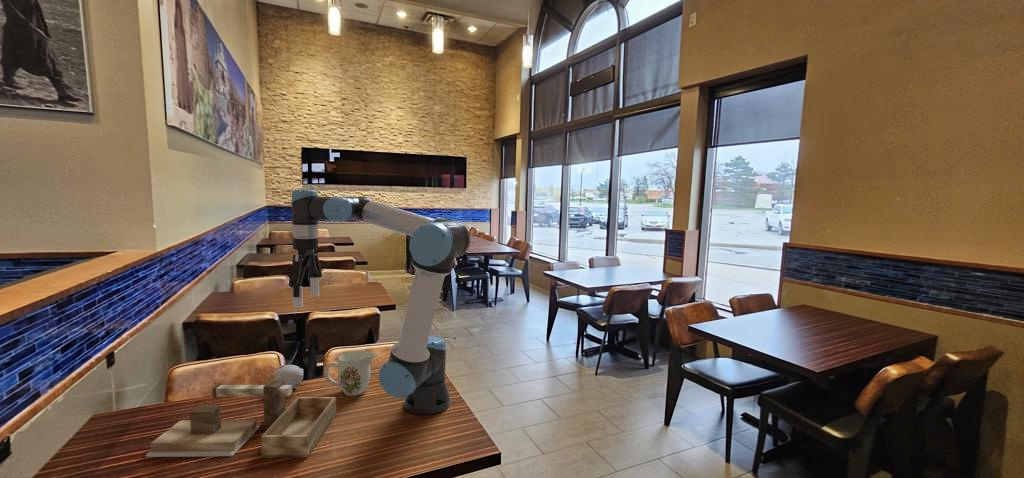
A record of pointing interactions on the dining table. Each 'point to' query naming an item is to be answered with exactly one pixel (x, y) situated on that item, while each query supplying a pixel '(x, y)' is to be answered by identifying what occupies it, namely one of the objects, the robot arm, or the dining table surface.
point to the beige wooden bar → (247, 390)
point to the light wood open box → (293, 423)
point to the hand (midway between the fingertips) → (306, 301)
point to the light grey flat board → (201, 453)
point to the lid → (204, 433)
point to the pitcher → (352, 372)
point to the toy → (289, 375)
